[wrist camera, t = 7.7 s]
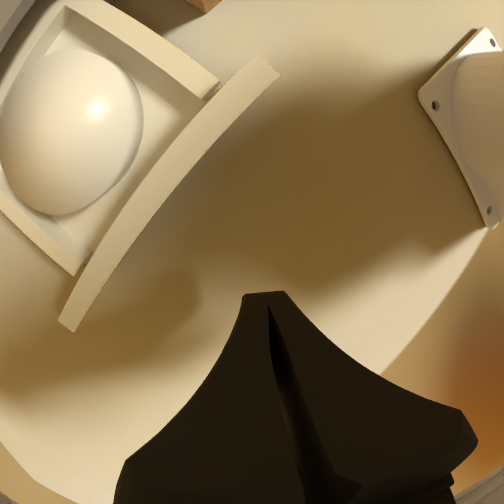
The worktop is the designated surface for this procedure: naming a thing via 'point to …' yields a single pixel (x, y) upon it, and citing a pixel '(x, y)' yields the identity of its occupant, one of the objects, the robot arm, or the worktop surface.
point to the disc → (69, 130)
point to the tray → (153, 138)
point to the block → (204, 4)
